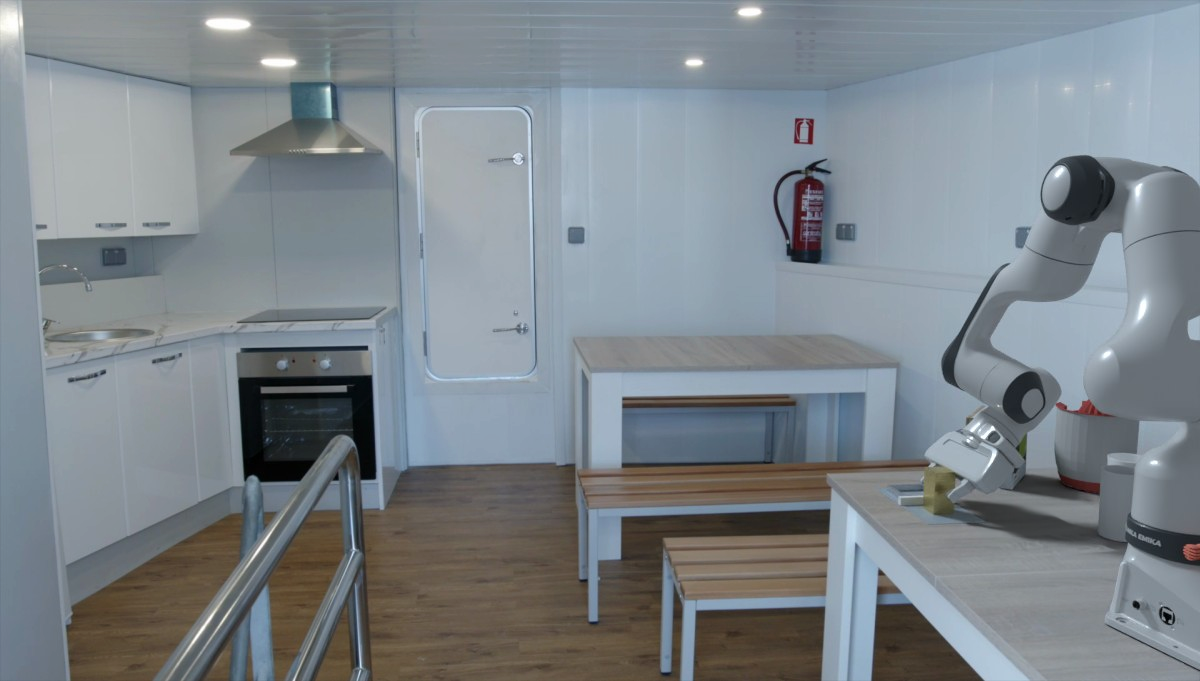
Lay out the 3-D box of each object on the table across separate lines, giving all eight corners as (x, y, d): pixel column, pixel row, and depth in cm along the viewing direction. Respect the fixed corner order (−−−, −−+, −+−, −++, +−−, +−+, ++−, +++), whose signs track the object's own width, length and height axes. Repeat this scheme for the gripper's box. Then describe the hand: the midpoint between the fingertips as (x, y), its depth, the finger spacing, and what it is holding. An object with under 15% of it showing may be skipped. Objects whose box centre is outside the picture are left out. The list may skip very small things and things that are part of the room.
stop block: (953, 513, 162) (955, 472, 161) (933, 514, 161) (935, 472, 160) (942, 507, 166) (944, 466, 165) (922, 508, 165) (924, 467, 164)
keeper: (941, 500, 169) (942, 494, 169) (904, 502, 168) (904, 496, 168) (922, 489, 177) (922, 483, 177) (886, 490, 176) (886, 485, 176)
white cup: (1094, 502, 172) (1098, 453, 171) (1131, 501, 173) (1135, 452, 171) (1122, 515, 164) (1126, 463, 163) (1161, 513, 165) (1165, 462, 164)
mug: (1141, 545, 148) (1146, 477, 147) (1096, 538, 151) (1101, 472, 150) (1139, 528, 157) (1145, 463, 155) (1096, 522, 160) (1101, 458, 159)
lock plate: (986, 527, 157) (986, 513, 157) (928, 529, 156) (929, 516, 156) (925, 491, 179) (926, 479, 179) (875, 493, 178) (875, 481, 177)
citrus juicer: (1087, 471, 194) (1094, 383, 191) (1154, 494, 177) (1162, 398, 174) (1027, 476, 190) (1033, 386, 187) (1090, 500, 173) (1097, 401, 171)
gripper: (948, 416, 172) (899, 466, 172) (1009, 441, 152) (953, 497, 152) (968, 438, 174) (919, 487, 174) (1031, 465, 153) (976, 520, 153)
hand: (936, 492), depth 163 cm, fingers open, 8 cm apart
